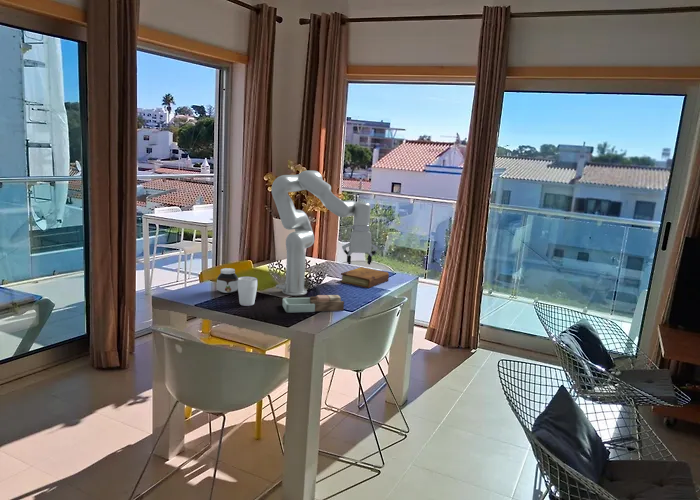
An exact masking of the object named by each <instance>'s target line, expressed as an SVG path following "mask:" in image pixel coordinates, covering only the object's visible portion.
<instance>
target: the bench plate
mask: <svg viewBox="0 0 700 500" xmlns="http://www.w3.org/2000/svg"><path fill="white" fill-rule="evenodd" d="M309 298H310V304H315V312H330V311H331V312H334V311H340V310H341V311H344V310H345V308H344V307H345V305H344V304H345V301H343V300H341V301H325V302H317V301H316V298H317V296H310V297H309Z"/></svg>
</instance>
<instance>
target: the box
mask: <svg viewBox="0 0 700 500" xmlns="http://www.w3.org/2000/svg"><path fill="white" fill-rule="evenodd" d="M281 305H282V307H283V309H284V311H285V312H286V313H315V312H316V311H315V304H310V297H283V298H282V304H281Z"/></svg>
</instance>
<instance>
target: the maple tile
mask: <svg viewBox="0 0 700 500" xmlns="http://www.w3.org/2000/svg"><path fill="white" fill-rule="evenodd" d="M327 296H328V297H329V298H330V300H329V301H342V298H341V296H340V294H327Z"/></svg>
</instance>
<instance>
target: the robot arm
mask: <svg viewBox="0 0 700 500" xmlns="http://www.w3.org/2000/svg"><path fill="white" fill-rule="evenodd" d="M270 189H271V195H272V198H273V201H274V203H275V206H276V208H277V212H278V216H279V219H280V221H281V224H282V226H283V228H284V229H285V230H291V231H292V232H290V233H289V234H288V235H287V237H286V239H285V251H286V268H285V282H283V284H275V288H276V289H279V290H281V291H282V293H283V294H284V295H288V296H296V297H297V296H304V295H306V294H307V293H308V291H307V289H306V288H305V277H306V276H305V275H306V253H305V249H308V248H310V247H312V246H313V245H314V243H315V235H314V230H313V227H312V225H311V221H310V219H309V216H308V215H307V213H306V212H305V211H303V210H301V209H296V207H295V204H294V202H293V199H292V197H290V195H289V193H293V192H300V191H305V190H306V191H307V192H309V193H311V194H312V195H314V196H315V197H316V198H317V199H319V200H320V202H321V203H322V205H323V206H324V207H325V208H326V209H327V210H329V212H331V213H332V214H333V215H335V216H337V217H339V218H346V217H348V218H349V217H353V225H350V229H352V230H351V233H350V239H349V242H348V243H345V244H344V245H342V246H341V248H342V250H343V252H344V253H345V255H346V263H347V264H348V265H351V264H352V263H351V262H352V261H351V260H352V256H351V255H352V254H353V253H355V254H356V253H359V254H368V256H367V264H368V265H370V266H371V263H372V259H373V258H372V257H373V256H374V255H375V254H376V252H377V251H378V249H379V247H378V246H376V245H375V244H373V243H372V232H371V231H370V222H371V221H370V220H371V209H372V208H371V203H369V202H365V201H361V202H358V201H356V200H352V199H351V200H349V199H347V200H342V199H340V198H339V197H337V196H336V195H335V194H334V193H333V192H332V186H331V184H329V183H328V182H327V181H325V180H324V179H323V175H322V174H321V173H320V172H319V171H317V170H302V171H301V172H300V173H298V174H283V175H280V176H278V177H276V178H275V179H274V181H273V182H272V185H271V188H270ZM293 230H294V231H293ZM347 248H348V250H347ZM372 248H373V250H372Z"/></svg>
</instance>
